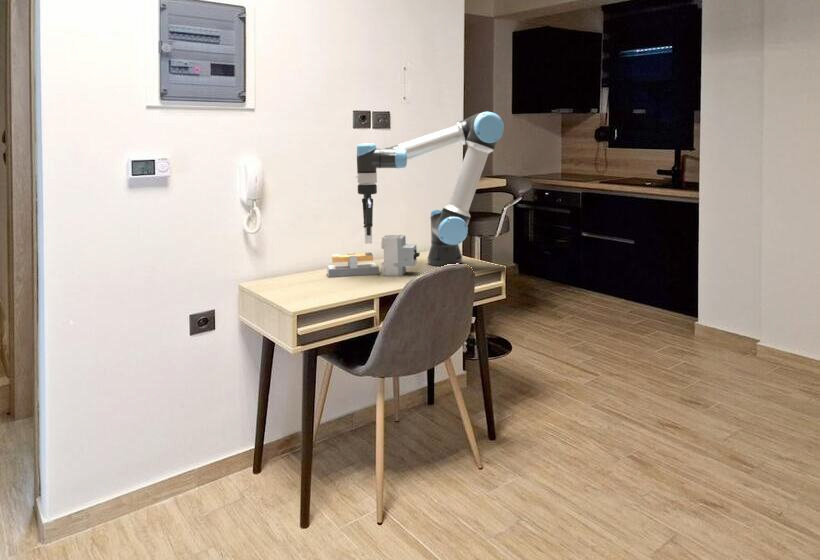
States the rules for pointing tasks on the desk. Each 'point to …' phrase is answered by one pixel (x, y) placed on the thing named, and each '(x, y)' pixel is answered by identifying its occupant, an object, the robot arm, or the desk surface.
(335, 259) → the lever
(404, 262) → the circuit breaker
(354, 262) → the grey block
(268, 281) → the desk surface
